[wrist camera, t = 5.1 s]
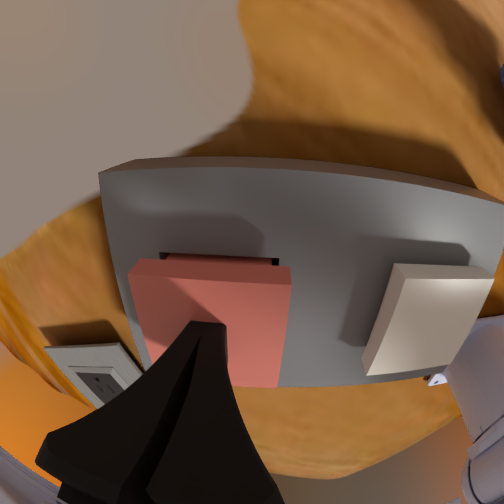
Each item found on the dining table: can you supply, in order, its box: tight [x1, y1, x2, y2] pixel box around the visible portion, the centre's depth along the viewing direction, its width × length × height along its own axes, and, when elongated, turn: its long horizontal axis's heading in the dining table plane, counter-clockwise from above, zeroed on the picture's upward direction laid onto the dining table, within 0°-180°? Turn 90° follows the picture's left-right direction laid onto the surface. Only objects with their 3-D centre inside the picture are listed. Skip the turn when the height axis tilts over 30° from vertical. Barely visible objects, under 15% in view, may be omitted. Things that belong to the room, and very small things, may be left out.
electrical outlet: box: [43, 342, 143, 409], centre depth 21 cm, size 13×10×2 cm
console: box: [98, 156, 504, 387], centre depth 13 cm, size 20×12×4 cm, turn 89°
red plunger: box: [127, 253, 292, 388], centre depth 12 cm, size 6×6×5 cm
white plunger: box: [361, 263, 494, 376], centre depth 12 cm, size 6×6×5 cm
